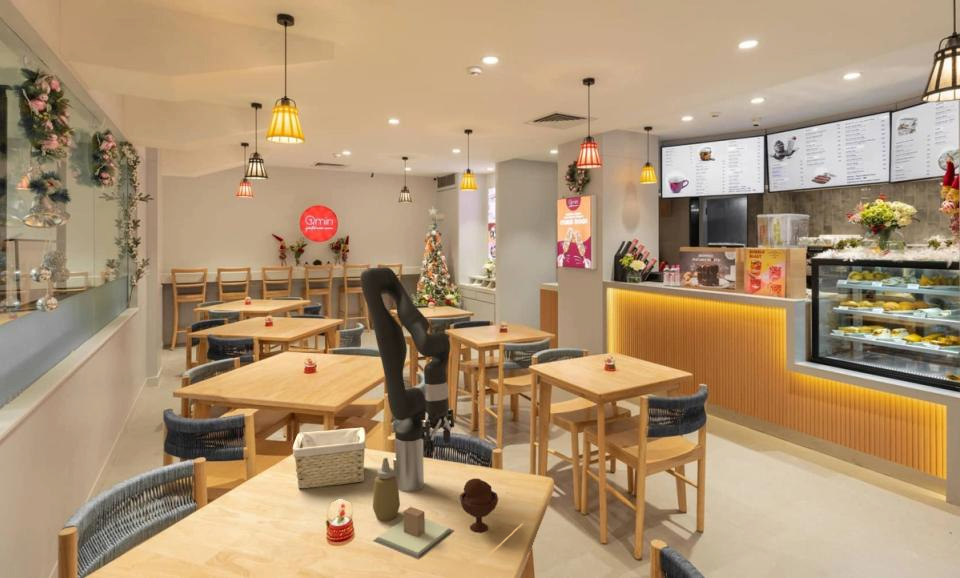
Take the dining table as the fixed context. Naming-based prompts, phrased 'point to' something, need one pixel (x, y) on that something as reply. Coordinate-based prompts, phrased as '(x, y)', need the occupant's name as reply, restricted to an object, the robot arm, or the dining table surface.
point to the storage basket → (330, 457)
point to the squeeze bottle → (386, 493)
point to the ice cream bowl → (478, 502)
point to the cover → (414, 532)
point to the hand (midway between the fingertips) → (439, 446)
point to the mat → (410, 553)
